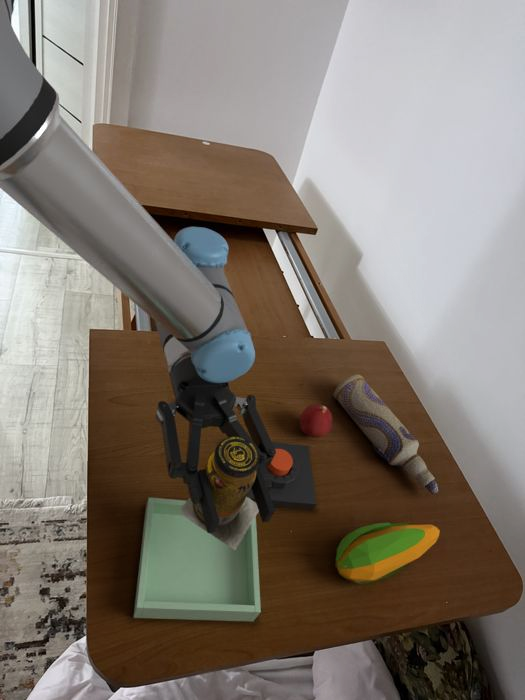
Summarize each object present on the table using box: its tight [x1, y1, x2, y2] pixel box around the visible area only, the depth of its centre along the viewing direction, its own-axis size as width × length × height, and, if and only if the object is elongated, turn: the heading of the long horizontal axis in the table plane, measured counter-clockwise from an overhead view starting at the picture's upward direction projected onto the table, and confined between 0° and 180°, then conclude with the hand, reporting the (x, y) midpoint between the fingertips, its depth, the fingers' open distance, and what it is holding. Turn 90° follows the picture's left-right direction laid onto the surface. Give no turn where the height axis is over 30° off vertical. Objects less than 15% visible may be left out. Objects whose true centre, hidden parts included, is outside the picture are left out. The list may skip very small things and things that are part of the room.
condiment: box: [178, 436, 260, 550], centre depth 61 cm, size 7×8×12 cm
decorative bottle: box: [332, 374, 440, 495], centre depth 93 cm, size 26×8×7 cm, turn 33°
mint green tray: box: [133, 497, 262, 623], centre depth 69 cm, size 16×15×4 cm
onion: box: [299, 403, 334, 438], centre depth 90 cm, size 6×6×8 cm
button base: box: [246, 441, 318, 511], centre depth 82 cm, size 13×11×4 cm
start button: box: [267, 449, 293, 476], centre depth 81 cm, size 4×4×2 cm
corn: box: [335, 522, 441, 585], centre depth 77 cm, size 7×8×20 cm
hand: (241, 521), depth 57 cm, fingers closed on condiment, 6 cm apart
